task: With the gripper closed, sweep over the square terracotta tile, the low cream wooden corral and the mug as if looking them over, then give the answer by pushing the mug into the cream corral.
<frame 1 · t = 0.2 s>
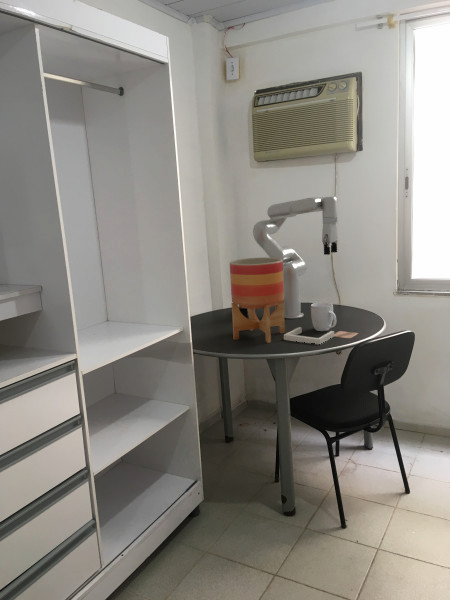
hand: (330, 253, 261), 37 cm above the table, tool pointing down, fingers open, 9 cm apart
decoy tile: (344, 334, 240), on the table
mug: (323, 330, 250), on the table
planter: (259, 336, 247), on the table
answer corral: (309, 337, 238), on the table
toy: (244, 315, 295), on the table
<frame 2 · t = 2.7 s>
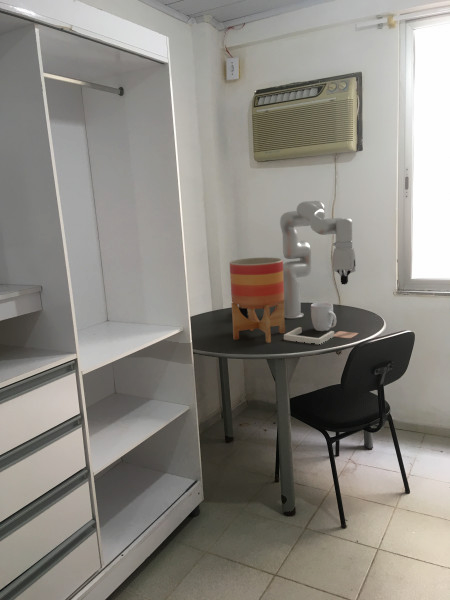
hand: (344, 283, 235), 25 cm above the table, tool pointing down, fingers closed
nothing on the table moved.
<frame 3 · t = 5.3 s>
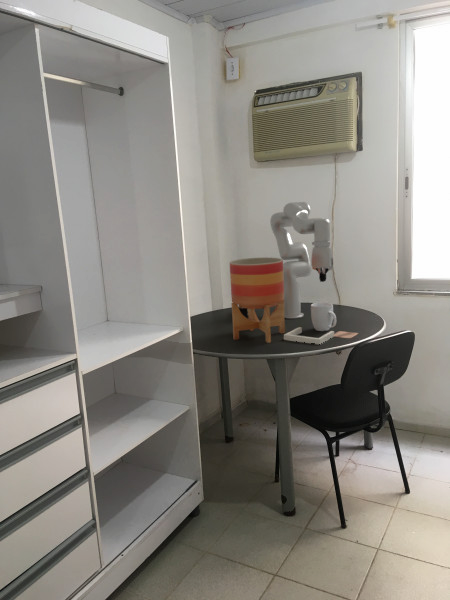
hand: (322, 281, 245), 25 cm above the table, tool pointing down, fingers closed
nothing on the table moved.
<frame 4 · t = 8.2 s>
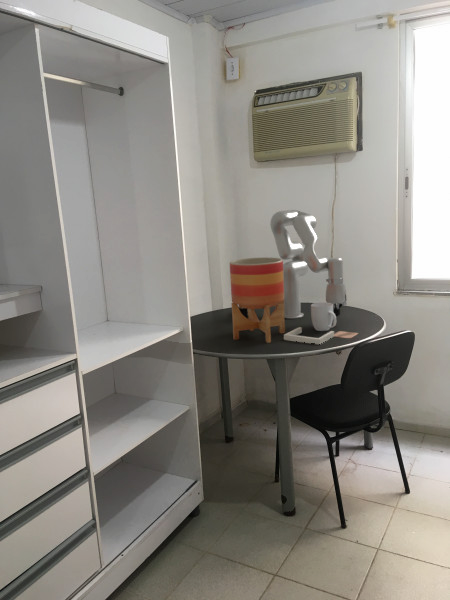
hand: (336, 315, 261), 4 cm above the table, tool pointing down, fingers closed
nothing on the table moved.
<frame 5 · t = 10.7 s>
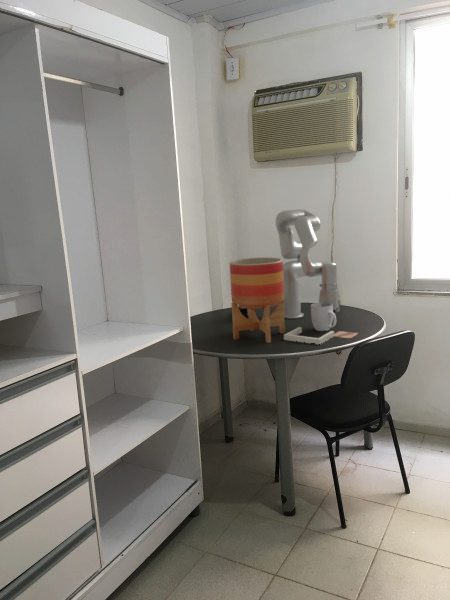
hand: (330, 321, 256), 3 cm above the table, tool pointing down, fingers closed
mug: (323, 330, 250), on the table, touching gripper
everything else where it was.
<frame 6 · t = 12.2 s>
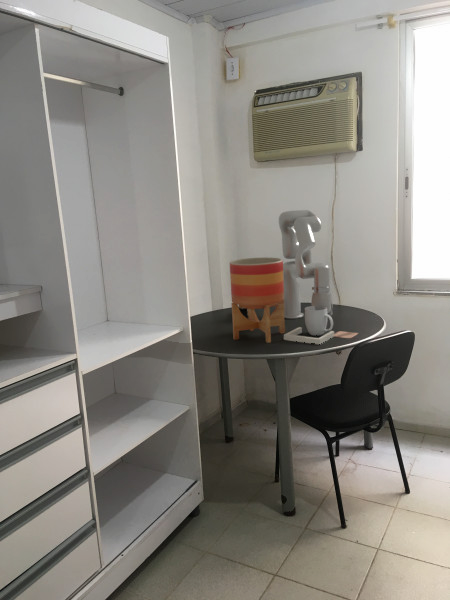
hand: (322, 325, 249), 3 cm above the table, tool pointing down, fingers closed
mug: (318, 334, 243), on the table, touching gripper
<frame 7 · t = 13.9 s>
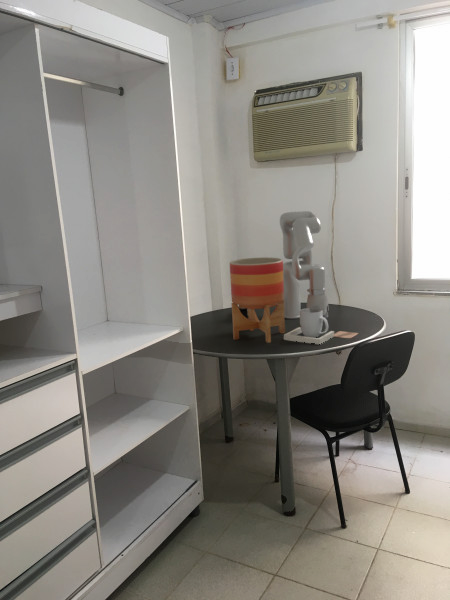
hand: (318, 328, 245), 3 cm above the table, tool pointing down, fingers closed
mug: (313, 337, 239), on the table, touching gripper
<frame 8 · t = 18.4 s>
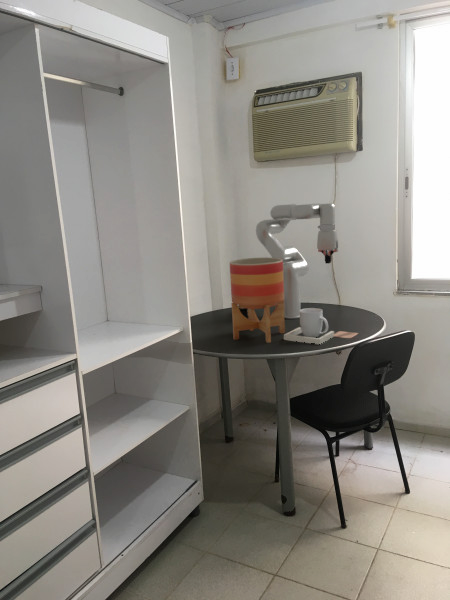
hand: (328, 263, 258), 32 cm above the table, tool pointing down, fingers closed
mug: (313, 337, 239), on the table
at the end: mug 2.7 cm from the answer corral (horizontally); mug tilted 0°; mug moved 13.5 cm from its start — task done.
